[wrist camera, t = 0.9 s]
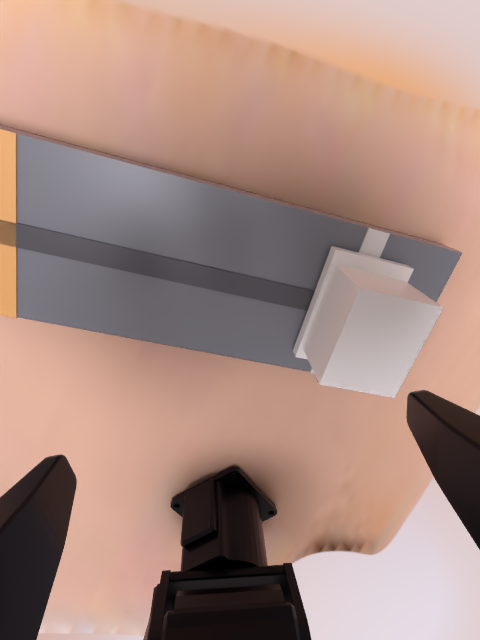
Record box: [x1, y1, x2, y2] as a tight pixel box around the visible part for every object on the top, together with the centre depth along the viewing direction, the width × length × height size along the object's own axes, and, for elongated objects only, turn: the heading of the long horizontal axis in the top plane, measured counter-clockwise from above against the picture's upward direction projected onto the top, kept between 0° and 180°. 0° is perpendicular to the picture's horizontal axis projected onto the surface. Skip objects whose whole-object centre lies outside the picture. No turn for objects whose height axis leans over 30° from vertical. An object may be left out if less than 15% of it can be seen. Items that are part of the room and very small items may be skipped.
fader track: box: [0, 125, 462, 373], centre depth 19 cm, size 28×9×2 cm, turn 75°
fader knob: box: [293, 246, 443, 398], centre depth 18 cm, size 4×6×4 cm
